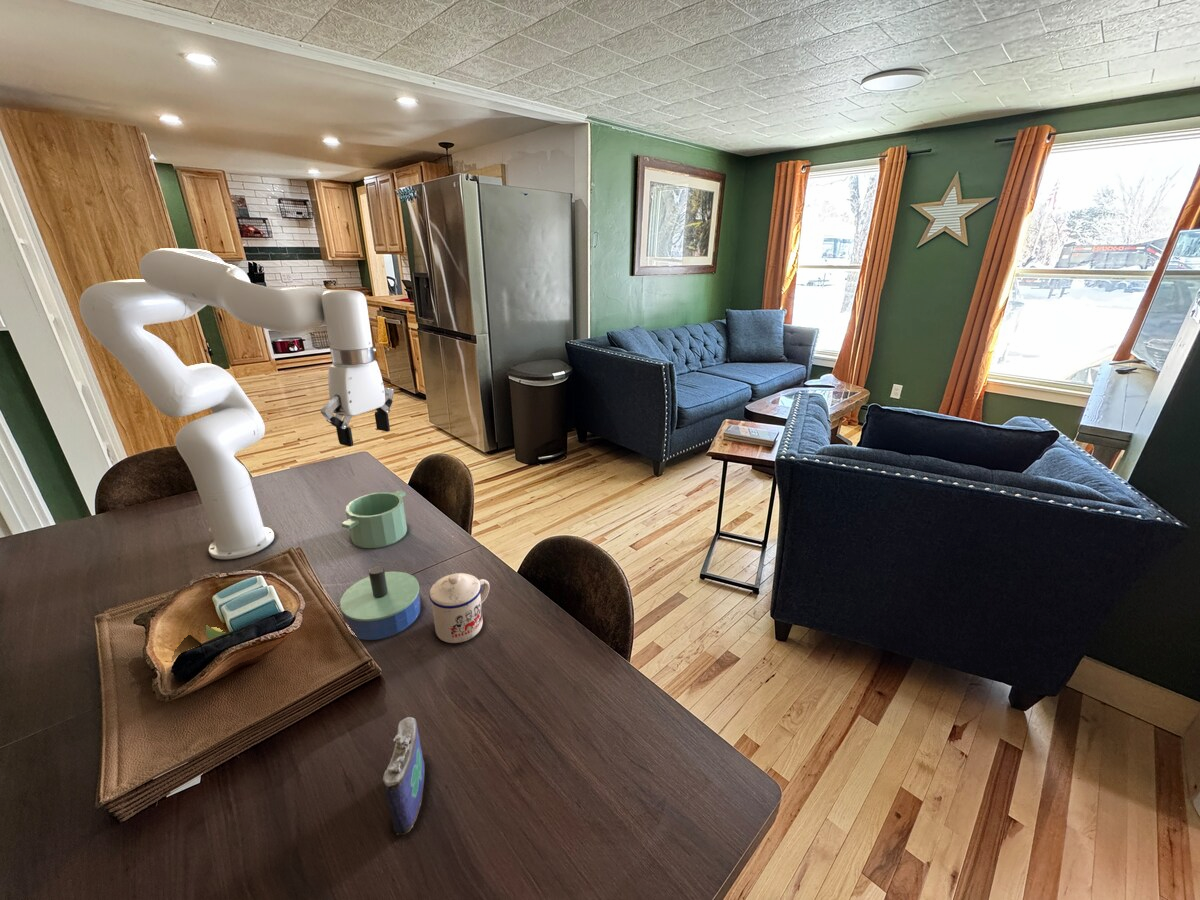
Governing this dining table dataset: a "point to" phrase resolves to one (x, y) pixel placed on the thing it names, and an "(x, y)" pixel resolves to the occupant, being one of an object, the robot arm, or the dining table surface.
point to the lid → (379, 595)
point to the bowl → (385, 623)
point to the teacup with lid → (458, 606)
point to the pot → (376, 519)
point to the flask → (405, 777)
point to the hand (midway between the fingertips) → (365, 437)
